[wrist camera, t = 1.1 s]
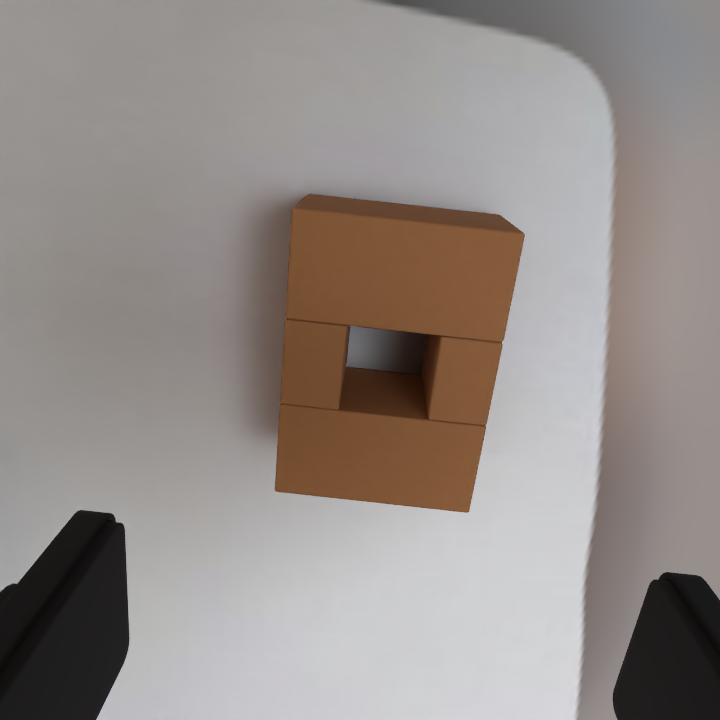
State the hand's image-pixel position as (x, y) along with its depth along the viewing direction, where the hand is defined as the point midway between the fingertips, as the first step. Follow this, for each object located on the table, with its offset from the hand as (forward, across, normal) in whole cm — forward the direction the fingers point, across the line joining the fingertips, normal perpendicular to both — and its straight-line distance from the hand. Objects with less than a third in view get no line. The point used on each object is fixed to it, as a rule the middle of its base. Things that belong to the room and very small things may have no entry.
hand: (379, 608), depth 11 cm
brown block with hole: (+14, 0, -1) cm, 14 cm away
